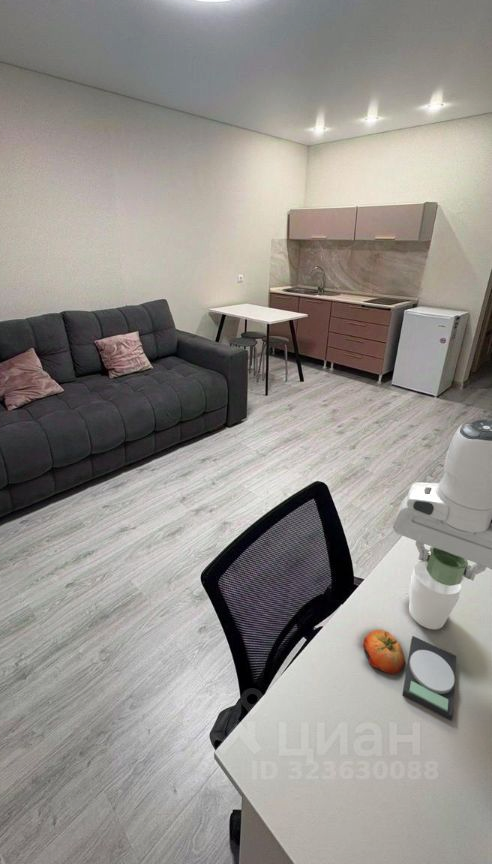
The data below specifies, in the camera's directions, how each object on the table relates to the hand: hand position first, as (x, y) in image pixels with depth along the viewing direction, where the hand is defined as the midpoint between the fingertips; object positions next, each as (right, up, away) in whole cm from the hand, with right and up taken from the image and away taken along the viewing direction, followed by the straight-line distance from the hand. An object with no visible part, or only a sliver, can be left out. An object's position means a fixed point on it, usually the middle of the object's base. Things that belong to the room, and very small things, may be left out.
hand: (444, 567), depth 76 cm
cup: (+2, -17, +12) cm, 20 cm away
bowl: (0, -2, +1) cm, 2 cm away
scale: (-3, -21, 0) cm, 21 cm away
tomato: (-10, -20, +4) cm, 22 cm away
